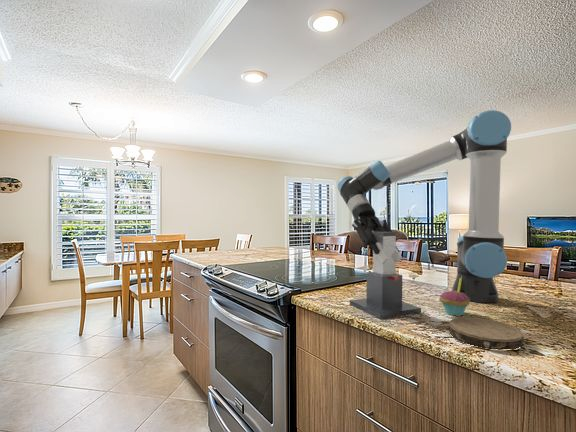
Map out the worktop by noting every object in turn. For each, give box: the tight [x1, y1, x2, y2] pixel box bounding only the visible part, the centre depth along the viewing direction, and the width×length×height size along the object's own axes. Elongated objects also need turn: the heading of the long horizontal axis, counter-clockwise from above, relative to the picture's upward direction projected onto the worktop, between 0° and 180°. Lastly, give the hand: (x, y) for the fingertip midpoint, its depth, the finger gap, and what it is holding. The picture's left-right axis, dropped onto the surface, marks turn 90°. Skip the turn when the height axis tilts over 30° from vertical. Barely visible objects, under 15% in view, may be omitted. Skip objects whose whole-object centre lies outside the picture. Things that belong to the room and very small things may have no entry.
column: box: [372, 231, 397, 276], centre depth 106 cm, size 5×5×22 cm
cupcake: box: [438, 276, 471, 317], centre depth 101 cm, size 9×8×12 cm
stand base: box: [349, 271, 422, 320], centre depth 106 cm, size 16×16×12 cm
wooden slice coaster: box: [449, 316, 524, 349], centre depth 81 cm, size 16×16×3 cm
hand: (392, 260), depth 102 cm, fingers closed on column, 5 cm apart
